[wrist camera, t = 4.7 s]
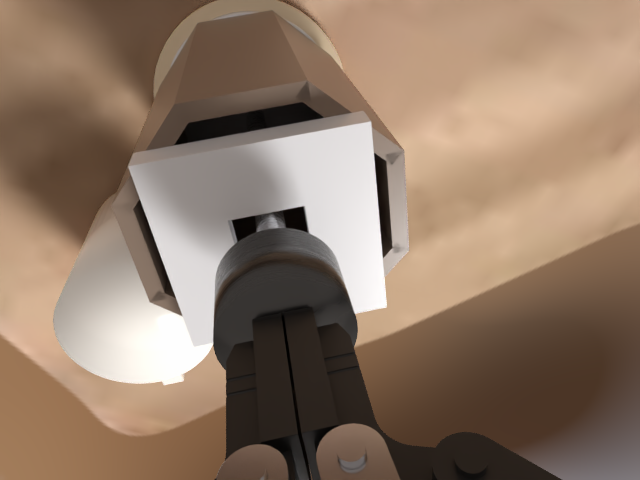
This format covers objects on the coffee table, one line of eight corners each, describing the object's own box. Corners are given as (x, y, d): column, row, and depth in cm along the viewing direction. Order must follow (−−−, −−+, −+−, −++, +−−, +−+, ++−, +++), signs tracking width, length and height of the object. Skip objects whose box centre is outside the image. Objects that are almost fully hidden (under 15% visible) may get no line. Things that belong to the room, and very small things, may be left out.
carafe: (333, -22, 28) (437, 37, 14) (355, 189, 35) (441, 367, 21) (127, 13, 27) (24, 109, 13) (191, 220, 34) (167, 426, 20)
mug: (202, 172, 32) (194, 248, 25) (237, 296, 38) (239, 390, 30) (73, 196, 32) (25, 281, 24) (127, 318, 37) (101, 419, 30)
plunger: (282, 76, 27) (350, 266, 12) (293, 142, 29) (363, 373, 14) (213, 88, 27) (196, 296, 12) (229, 153, 28) (231, 401, 14)
